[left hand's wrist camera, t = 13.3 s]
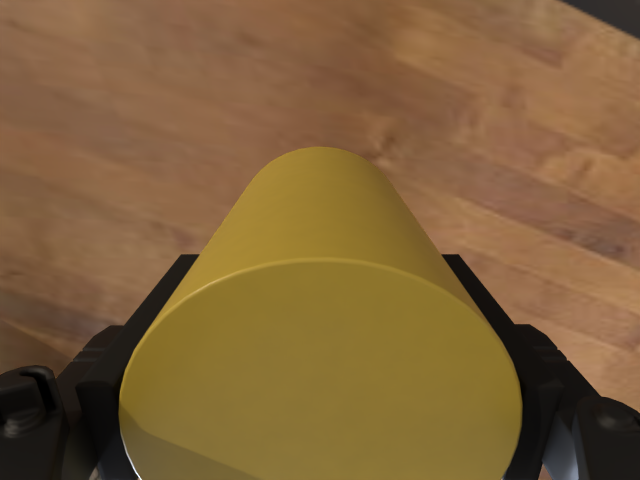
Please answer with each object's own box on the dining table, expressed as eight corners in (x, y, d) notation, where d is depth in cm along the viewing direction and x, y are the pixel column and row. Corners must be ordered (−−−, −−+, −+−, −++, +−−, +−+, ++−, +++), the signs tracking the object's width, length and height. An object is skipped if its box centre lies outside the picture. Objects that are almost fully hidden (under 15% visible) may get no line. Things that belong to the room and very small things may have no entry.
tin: (214, 168, 18) (41, 310, 7) (389, 128, 18) (515, 211, 6) (262, 316, 21) (197, 585, 10) (414, 286, 21) (530, 538, 9)
